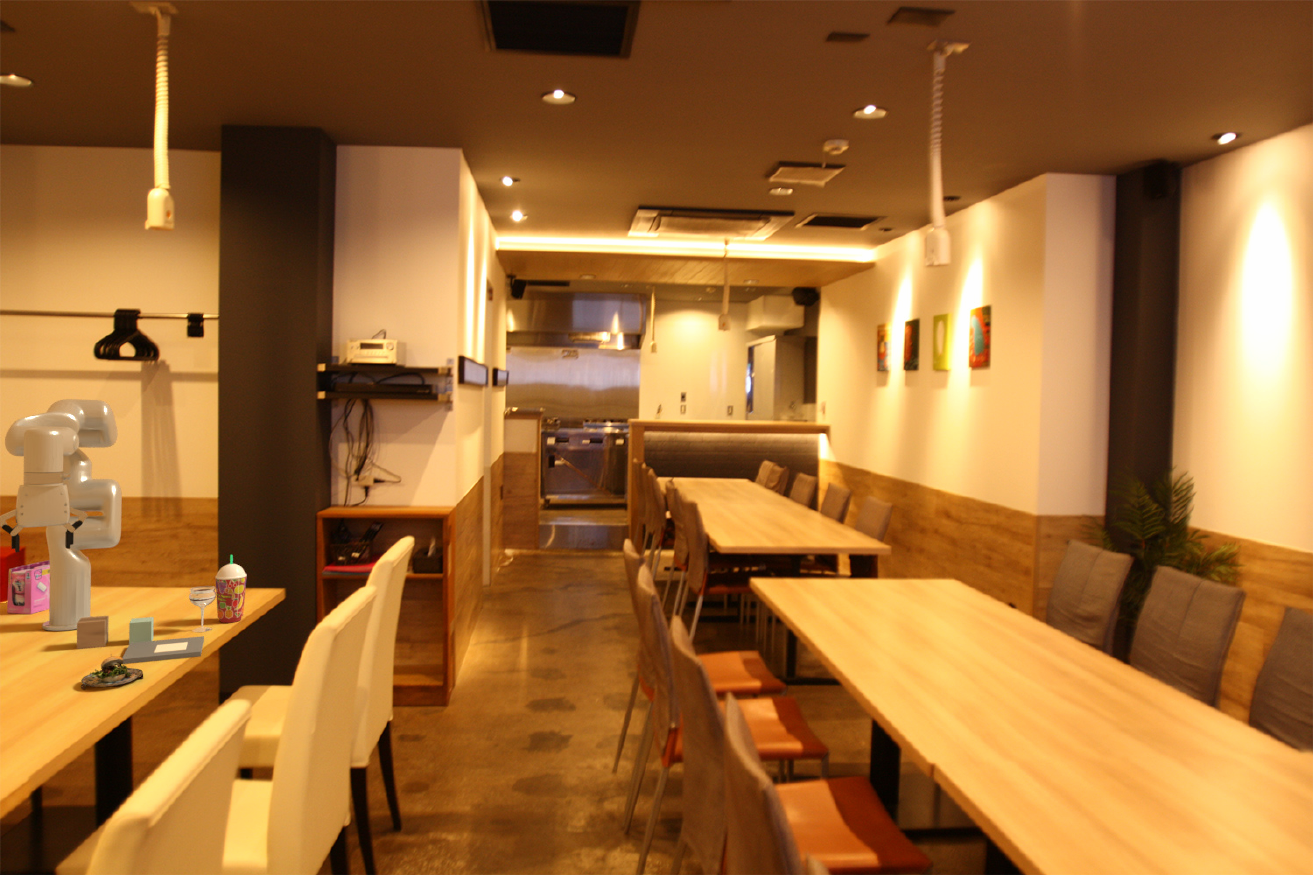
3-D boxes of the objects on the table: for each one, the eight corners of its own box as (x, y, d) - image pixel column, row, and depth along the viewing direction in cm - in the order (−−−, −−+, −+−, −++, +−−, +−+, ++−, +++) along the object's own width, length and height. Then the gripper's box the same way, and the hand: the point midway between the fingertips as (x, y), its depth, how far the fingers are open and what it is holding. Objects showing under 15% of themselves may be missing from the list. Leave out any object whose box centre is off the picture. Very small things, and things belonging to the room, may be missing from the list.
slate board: (130, 647, 206) (130, 642, 206) (203, 640, 214) (203, 635, 214) (121, 664, 193) (121, 658, 193) (200, 656, 201) (200, 651, 201)
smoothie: (208, 622, 232) (209, 555, 232) (232, 615, 240) (233, 551, 240) (228, 625, 229) (229, 558, 229) (252, 619, 237) (253, 554, 237)
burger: (74, 694, 173) (74, 661, 173) (88, 677, 184) (88, 646, 184) (137, 688, 178) (138, 656, 178) (148, 672, 189) (148, 642, 188)
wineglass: (219, 630, 225) (219, 588, 224) (192, 634, 220) (193, 592, 219) (211, 625, 229) (211, 584, 229) (185, 629, 224) (185, 588, 224)
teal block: (131, 640, 213) (131, 618, 213) (153, 638, 215) (153, 616, 215) (129, 645, 208) (129, 623, 208) (151, 643, 211) (151, 621, 211)
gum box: (27, 615, 234) (28, 570, 233) (2, 614, 234) (2, 569, 234) (89, 597, 258) (89, 556, 257) (65, 596, 258) (66, 555, 257)
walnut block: (81, 643, 209) (81, 617, 209) (108, 640, 212) (108, 615, 211) (76, 649, 204) (77, 623, 203) (104, 646, 206) (104, 620, 206)
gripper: (85, 477, 196) (85, 544, 196) (-5, 479, 184) (-5, 550, 185) (89, 479, 190) (88, 548, 191) (-3, 481, 179) (-4, 555, 179)
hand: (42, 549), depth 188 cm, fingers open, 9 cm apart
